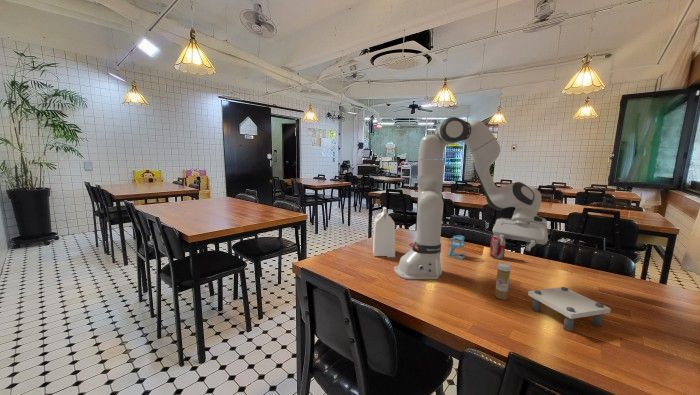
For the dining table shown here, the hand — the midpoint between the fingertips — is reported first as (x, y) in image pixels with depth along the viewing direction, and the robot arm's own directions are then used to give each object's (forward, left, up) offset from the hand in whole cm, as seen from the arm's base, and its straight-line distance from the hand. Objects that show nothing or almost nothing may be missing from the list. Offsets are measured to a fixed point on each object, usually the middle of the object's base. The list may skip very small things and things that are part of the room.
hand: (514, 247), depth 120 cm
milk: (-37, +52, -18) cm, 67 cm away
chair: (+1, +39, -18) cm, 43 cm away
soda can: (+22, +33, -18) cm, 44 cm away
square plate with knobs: (+1, -24, -17) cm, 29 cm away
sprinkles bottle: (-10, -7, -18) cm, 22 cm away
